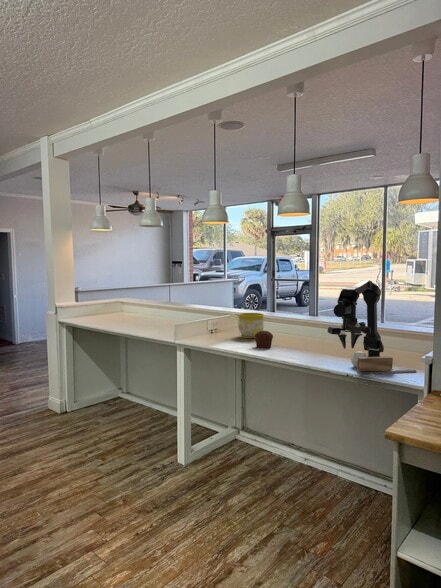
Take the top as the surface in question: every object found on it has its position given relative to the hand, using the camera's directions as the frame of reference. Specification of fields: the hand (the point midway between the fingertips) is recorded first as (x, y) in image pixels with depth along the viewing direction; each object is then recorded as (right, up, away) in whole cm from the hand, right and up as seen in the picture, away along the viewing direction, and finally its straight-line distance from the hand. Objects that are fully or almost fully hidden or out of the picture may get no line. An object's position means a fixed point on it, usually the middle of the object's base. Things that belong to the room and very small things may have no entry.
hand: (348, 348), depth 191 cm
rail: (+19, -12, +4) cm, 23 cm away
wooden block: (+13, -11, +3) cm, 17 cm away
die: (+10, -11, +13) cm, 20 cm away
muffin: (-33, -8, +63) cm, 72 cm away
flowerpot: (-38, -5, +98) cm, 105 cm away
